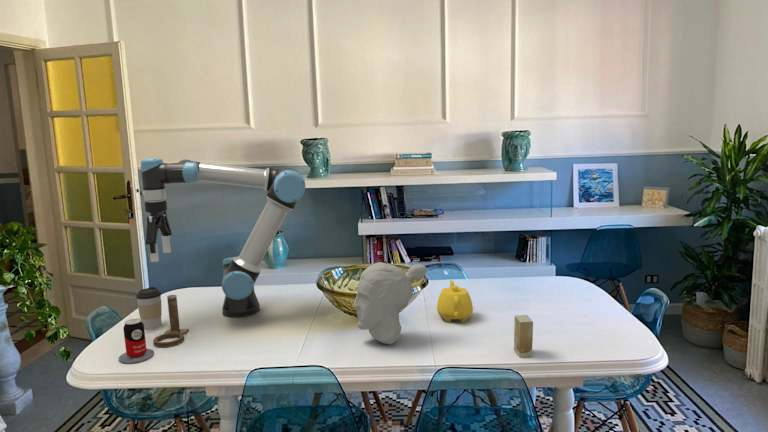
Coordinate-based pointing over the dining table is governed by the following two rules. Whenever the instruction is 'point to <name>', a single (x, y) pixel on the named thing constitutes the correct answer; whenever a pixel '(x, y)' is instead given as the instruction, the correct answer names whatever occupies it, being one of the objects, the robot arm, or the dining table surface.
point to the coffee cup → (150, 307)
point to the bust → (384, 298)
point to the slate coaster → (129, 360)
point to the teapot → (454, 303)
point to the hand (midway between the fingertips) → (161, 257)
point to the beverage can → (134, 338)
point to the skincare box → (523, 336)
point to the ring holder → (171, 326)
